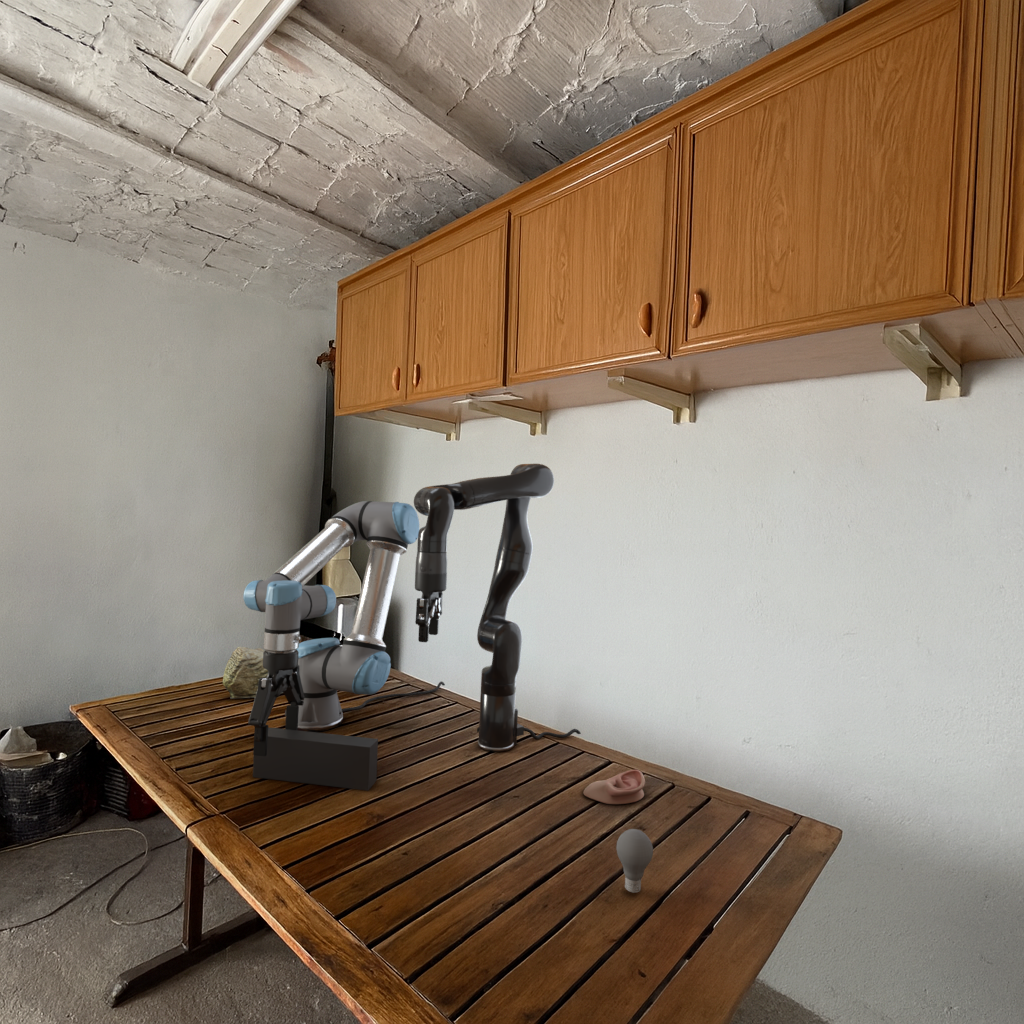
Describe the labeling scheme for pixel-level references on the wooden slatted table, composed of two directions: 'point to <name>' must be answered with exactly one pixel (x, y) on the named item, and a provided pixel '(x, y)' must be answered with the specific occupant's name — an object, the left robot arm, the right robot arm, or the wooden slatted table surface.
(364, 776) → the bar
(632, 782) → the anatomical model
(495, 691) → the right robot arm
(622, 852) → the light bulb
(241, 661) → the fossil
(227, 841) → the wooden slatted table surface
